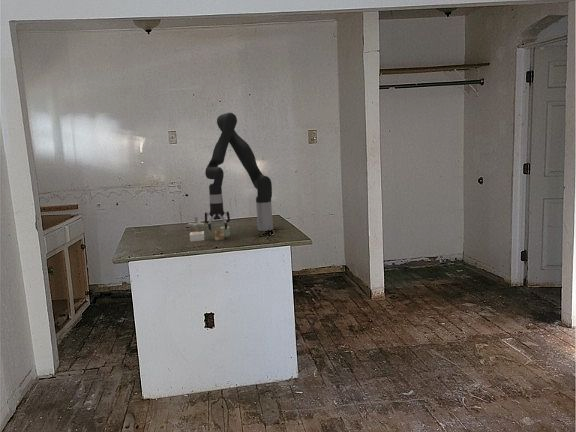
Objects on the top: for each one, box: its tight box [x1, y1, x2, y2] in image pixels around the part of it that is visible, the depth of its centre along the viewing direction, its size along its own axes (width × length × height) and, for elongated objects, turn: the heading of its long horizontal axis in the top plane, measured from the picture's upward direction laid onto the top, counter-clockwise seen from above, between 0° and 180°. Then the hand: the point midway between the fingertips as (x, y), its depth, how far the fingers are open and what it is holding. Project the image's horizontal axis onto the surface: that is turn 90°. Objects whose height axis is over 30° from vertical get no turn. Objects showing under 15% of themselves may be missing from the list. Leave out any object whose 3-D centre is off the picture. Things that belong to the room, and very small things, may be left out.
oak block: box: [214, 229, 225, 241], centre depth 296 cm, size 5×5×5 cm
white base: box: [189, 230, 206, 242], centre depth 298 cm, size 8×8×4 cm
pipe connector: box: [187, 215, 206, 232], centre depth 317 cm, size 10×10×10 cm
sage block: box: [220, 225, 231, 238], centre depth 304 cm, size 5×5×5 cm
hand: (218, 229), depth 296 cm, fingers open, 8 cm apart
